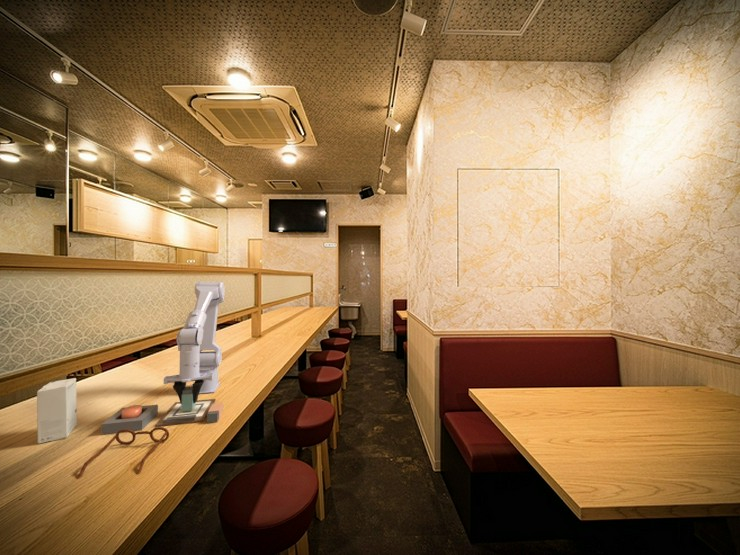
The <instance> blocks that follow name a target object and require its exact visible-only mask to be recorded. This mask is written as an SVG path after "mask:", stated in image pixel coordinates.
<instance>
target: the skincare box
mask: <svg viewBox="0 0 740 555" xmlns="http://www.w3.org/2000/svg"><path fill="white" fill-rule="evenodd" d="M36 404H37V405H36V406H37V407H36V410H37V411H36V412H37V415H36V416H37V417H36V418H37V419H36V420H37V421H36V423H37V426H36V427H37V444H39V445H40V444H43V443H47V442H54V441H58V440H62V439H63V440H64V439H67V438H68V437H69V435H70V433H72V431H73V430H74V429H75V427H76V426H77V425H78V413H77V411H78V410H77V407H78V406H77V405H78V402H77V378H76V377H73V378H68V379H61V380H54V381H50V382H49V383H47V384H45V385H43V386H42V387H41V388H40V389H38V390H37V391H36Z"/></svg>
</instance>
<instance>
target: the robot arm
mask: <svg viewBox="0 0 740 555" xmlns="http://www.w3.org/2000/svg"><path fill="white" fill-rule="evenodd" d="M225 292H226V287H225V283H224V282H223V281H220V282H219V281H218V282H217V281H215V282H213V281H197V282H196V283H195V286H194V294H195V297H196V301H195V302H196V303H195V306H194V309H193V310H192V311H190V312H189V313H188V316H187V318H186V320H185V324H184V326H183V328H181V329H180V330H179V331H177V335H176V344H177V349H178V351H179V374H173V375H166V376H165V377H163V385H168V384H172V383H173V385H172V388H173V390H174V391H175V393H176V394H177V396H178V399H179V402H180V403H181V404H182V391H183V389H184V388H185V387H187V383H190V382H193V383H192V385H191V387H193V403H196V401H197V400H199V399H198V398H199V394H210V393H215V392H216V391H217V390H218V388H219V387H220V385H221V381H219V368H218V367H220V365H221V363H222V359H223V354H222V347H221V346H220V345H219V344H217V343H216V333H217V324H218V314H219V313H218V312H219V307H220V304H222V303H223V302H224V299H225V294H226V293H225Z"/></svg>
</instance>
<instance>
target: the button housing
mask: <svg viewBox="0 0 740 555" xmlns="http://www.w3.org/2000/svg"><path fill="white" fill-rule="evenodd" d="M141 406H142V414H141V415H140V416H139V417H138V418H128V419H122V410H123V409H124V408H126V407H121V408H120V409H119V410H118V411H117V412H115V413H114V414H113V415H111V416H110V417H109V418H107V419H106V420H105V421H104V422H102V424H101V435H107V434H109V435H110V434H117V432H118V431H120V430H122V429H130V430H132V431H134V432H135V431H136V432H138V431H143V430H142V429H145V428H146V427H147V426H148V425H149V423H150V422H151V421H152V420H154V418H156V416H157V415H158V414H159V404H149V405H141ZM137 430H138V431H137Z"/></svg>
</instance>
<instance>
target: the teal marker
mask: <svg viewBox="0 0 740 555" xmlns="http://www.w3.org/2000/svg"><path fill="white" fill-rule="evenodd" d="M195 406H196V403H193V387H192V386H186V387H185V388H184V389H183V391H182V409H181V411H191V410H193V409H194V407H195Z"/></svg>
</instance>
